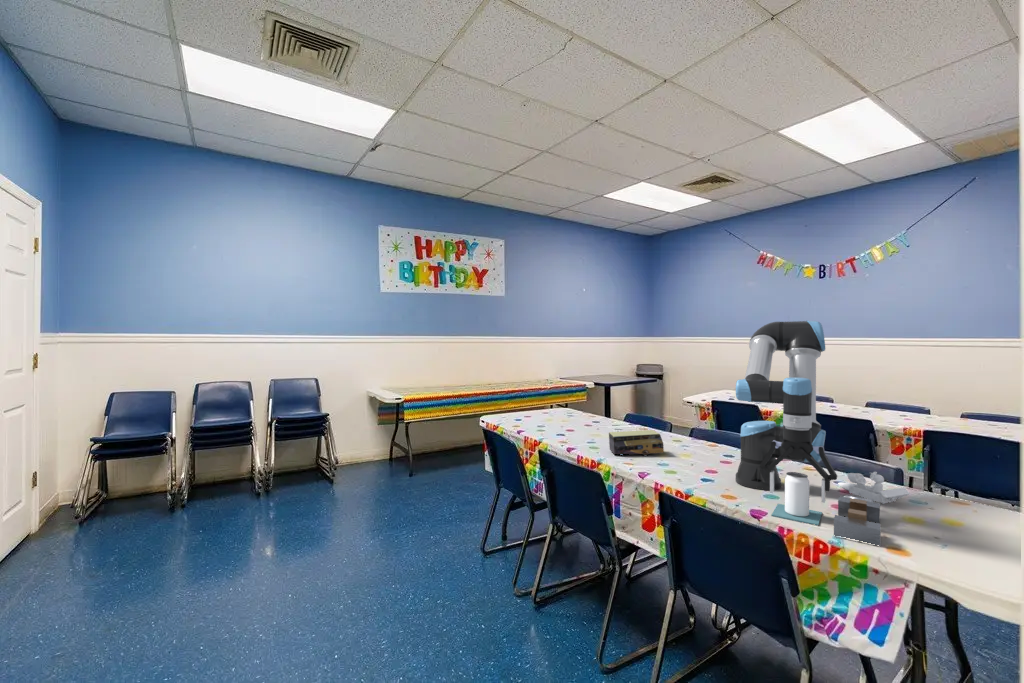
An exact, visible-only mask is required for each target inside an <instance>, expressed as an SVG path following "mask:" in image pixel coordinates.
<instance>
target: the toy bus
mask: <svg viewBox="0 0 1024 683" xmlns="http://www.w3.org/2000/svg"><path fill="white" fill-rule="evenodd" d="M608 444H609V446H608V447H609V451H612V452H613V453H614V454H629V455H643V454H644V455H647V456H648V455H649V454H663V453H664V452H665V449H664V441H663V439H662V435H661V434H660V433H659V432H657V431H655V430H653V429H648V430H647V429H646V430H644V429H643V430H627V431H626V430H625V431H610V432H608ZM612 452H611V453H612ZM614 454H613V455H614ZM644 455H643V456H644Z"/></svg>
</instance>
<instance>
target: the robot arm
mask: <svg viewBox="0 0 1024 683" xmlns="http://www.w3.org/2000/svg"><path fill="white" fill-rule="evenodd" d="M748 344H749V345H748V347H749V350H750V352H749V356H748V363H747V366H746V371H745V376H744V378H742V379H738V380H737V381H736V383H735V397H736V399H737V400H738V401H740V402H747V403H766V404H780V405H782V406H783V408H782V409H783V410H782V412H783V413H782V426H781V425H780V426H779V425H777V423H776V422H775V421H774V420H753V421H747V422H744V423H743V424H742V425H741V426H740V434H739V436H740V461H739V462H740V463H739V466H738V468H737V472H736V473H735V482H736V483H737V485H738V484H739V485H741V486H744V487H747V488H750V489H754V490H755V489H757V490H764V491H765V490H766V491H769V494H773V493H774V492H775V490H779V489H781V488H782V479H781V477H780V474H779V470H778V467H777V466H778V465H779V464H780V463H781V462H782V461H783V460H788V461H796V462H804V463H810V465H811V466H812V467H813V468H814V469H815V470H816V471H817V473H819V475H820V476H821V477H822V479H821V503H824V504H825V503H826V492H829V491H830V490H831V481H837V478H838V474H837V472H836V471H835V469H834V467H833V466H832V463H831V462H830V460H829V458H828V456H827V455H826V453H825V440H826V436H827V434H826V433H827V432H826V430H824V429H822V424H820V422H818V421H817V359H819V358H820V357H821V355H822V353H823V352H826V342H825V334H824V328H823V325H822V323H821V322H820V321H816V320H814V321H813V320H812V321H811V320H801V321H800V320H798V321H794V320H793V321H773V322H769V323H767V324H764V325H763V326H761V327H759V328H758V329H757V330H756V331H755V332H754V333H753V334H752V335H751V337H750V340H749V343H748ZM778 351H779V352H784V354H785V356H786V357H787V359H788V360H789V371H788V373H789V374H788V377H786V378H784V379H783V380H770V377H771V369H772V363H773V362H772V361H773V357H774V356H773V355H774V353H775V352H778ZM821 461H822V463H823V465H824V467H825V468H826V470H827V471H828V473H827V472H826V470H825V469H824V468H823V467H822V465H821V464H819V463H820V462H821ZM829 493H830V492H829Z"/></svg>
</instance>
